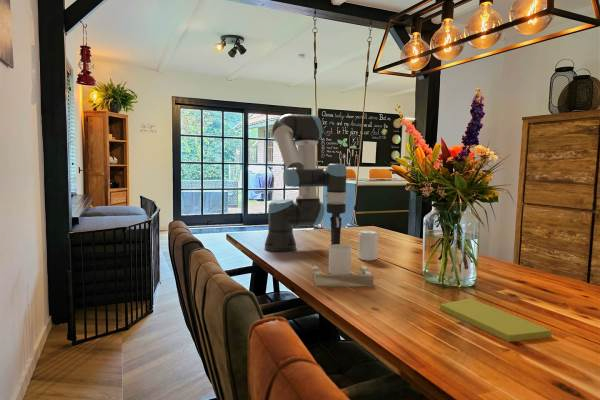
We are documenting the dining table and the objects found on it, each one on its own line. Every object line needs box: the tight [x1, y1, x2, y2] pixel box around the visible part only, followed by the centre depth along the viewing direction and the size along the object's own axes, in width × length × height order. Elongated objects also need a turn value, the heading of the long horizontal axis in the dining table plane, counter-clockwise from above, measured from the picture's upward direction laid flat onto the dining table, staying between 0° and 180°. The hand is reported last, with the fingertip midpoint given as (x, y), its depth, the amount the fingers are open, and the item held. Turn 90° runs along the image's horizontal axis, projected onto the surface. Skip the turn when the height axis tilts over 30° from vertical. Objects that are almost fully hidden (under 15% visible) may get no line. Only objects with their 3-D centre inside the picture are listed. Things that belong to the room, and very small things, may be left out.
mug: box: [328, 243, 352, 274], centre depth 147 cm, size 12×8×10 cm
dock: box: [312, 265, 375, 287], centre depth 137 cm, size 13×20×4 cm, turn 92°
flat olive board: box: [439, 297, 553, 343], centre depth 102 cm, size 12×2×24 cm
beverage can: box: [357, 229, 379, 262], centre depth 167 cm, size 8×8×12 cm
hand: (335, 261), depth 155 cm, fingers closed
